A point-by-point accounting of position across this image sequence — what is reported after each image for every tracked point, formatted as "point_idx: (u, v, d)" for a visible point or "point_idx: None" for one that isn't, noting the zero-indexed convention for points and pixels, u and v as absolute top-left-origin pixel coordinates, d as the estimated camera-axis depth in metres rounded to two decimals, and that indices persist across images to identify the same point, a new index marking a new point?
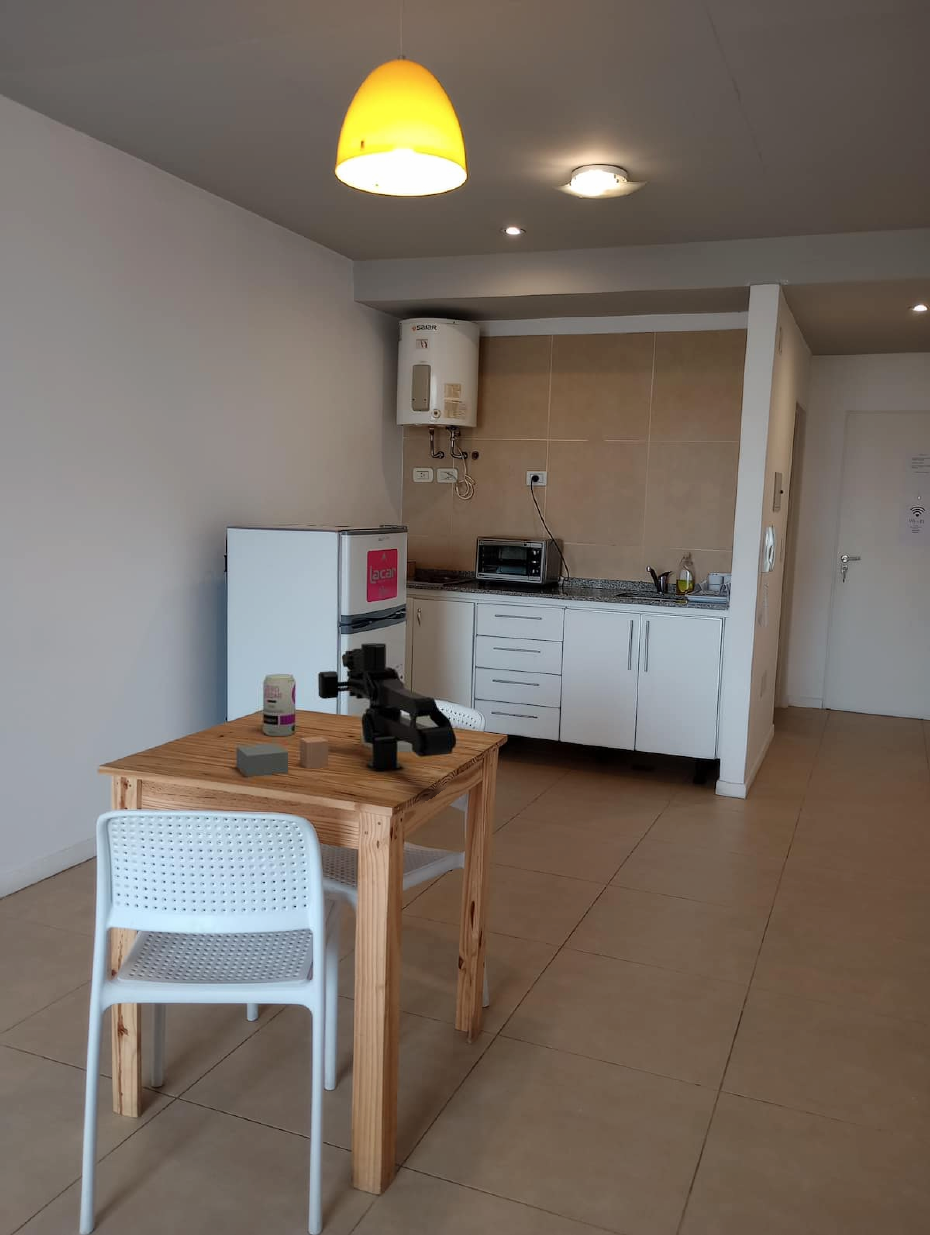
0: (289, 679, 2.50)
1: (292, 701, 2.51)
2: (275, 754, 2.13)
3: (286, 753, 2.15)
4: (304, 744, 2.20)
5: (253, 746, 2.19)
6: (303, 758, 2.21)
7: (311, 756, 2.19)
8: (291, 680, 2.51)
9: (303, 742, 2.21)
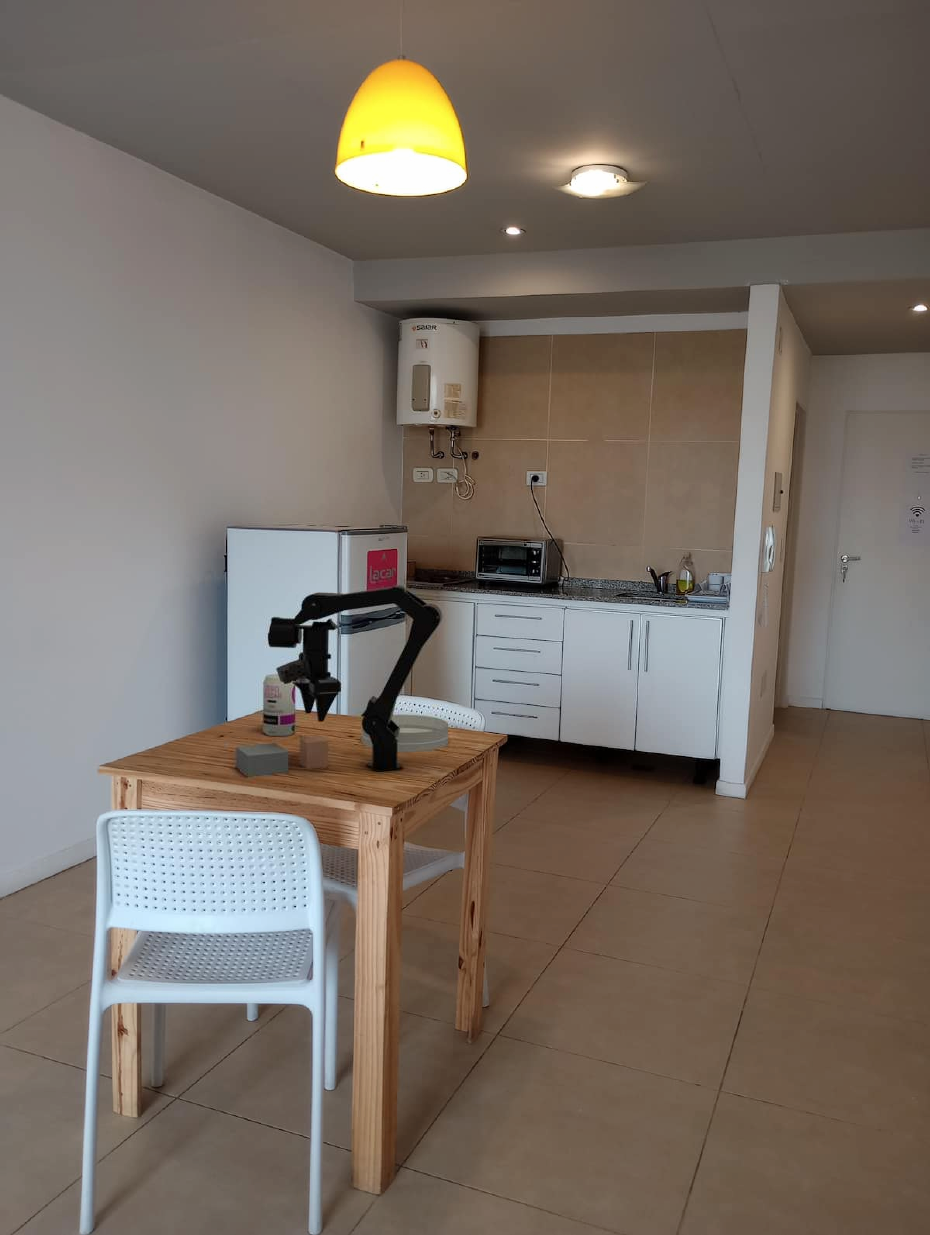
0: None
1: (292, 701, 2.51)
2: (275, 754, 2.14)
3: (286, 753, 2.15)
4: (304, 744, 2.20)
5: (253, 746, 2.19)
6: (303, 758, 2.21)
7: (311, 756, 2.19)
8: None
9: (303, 742, 2.21)
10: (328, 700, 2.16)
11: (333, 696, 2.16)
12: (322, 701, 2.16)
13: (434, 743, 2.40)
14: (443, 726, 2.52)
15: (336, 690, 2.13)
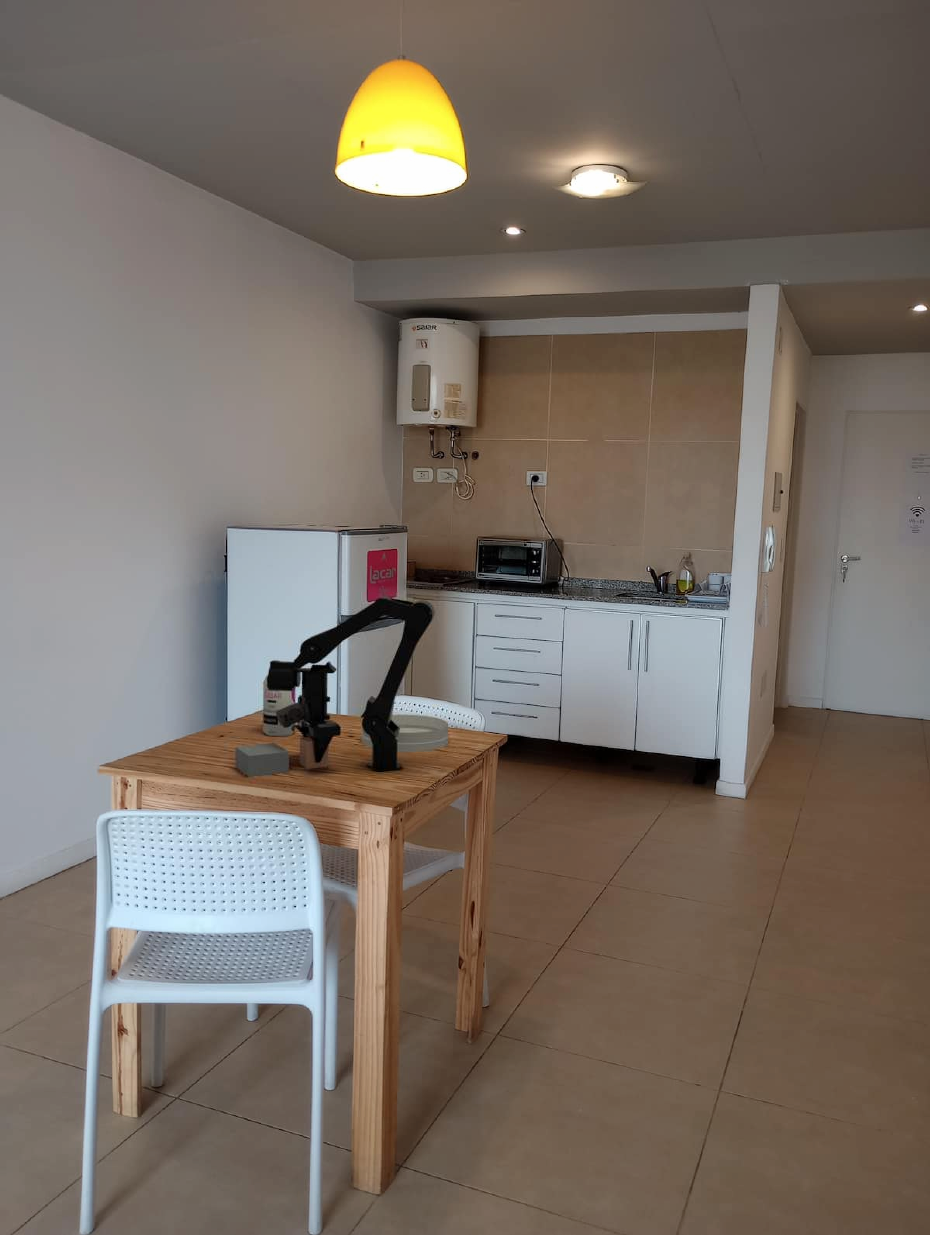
0: None
1: (292, 701, 2.51)
2: (276, 754, 2.14)
3: (287, 753, 2.15)
4: (304, 744, 2.20)
5: (252, 746, 2.19)
6: (303, 758, 2.21)
7: (311, 755, 2.19)
8: None
9: (303, 742, 2.21)
10: (325, 741, 2.19)
11: (330, 737, 2.19)
12: (319, 743, 2.19)
13: (434, 743, 2.40)
14: (443, 726, 2.52)
15: (336, 734, 2.14)
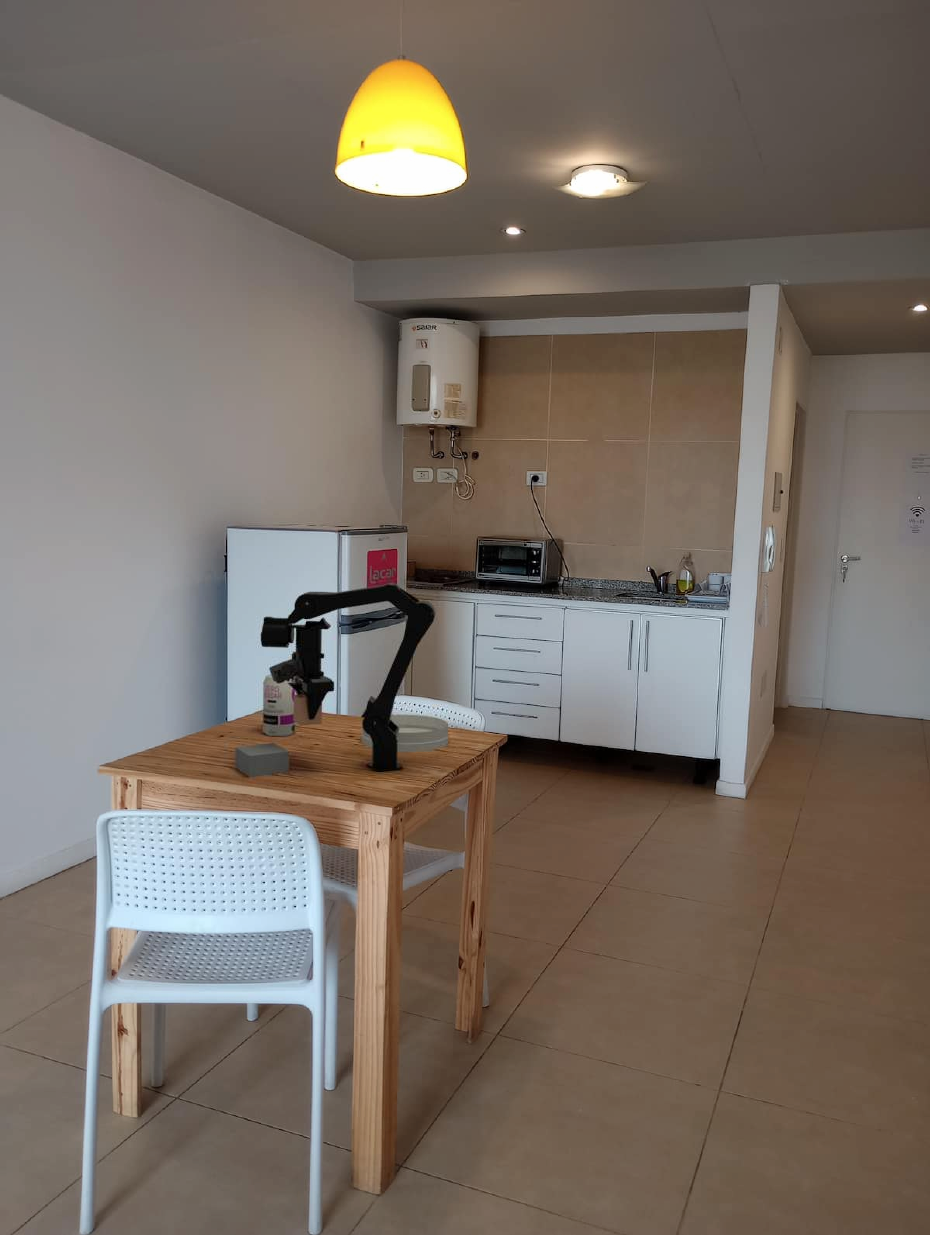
0: None
1: (292, 701, 2.51)
2: (277, 754, 2.14)
3: (287, 752, 2.15)
4: (298, 701, 2.19)
5: (252, 746, 2.19)
6: (296, 715, 2.20)
7: (305, 712, 2.18)
8: None
9: (297, 698, 2.19)
10: (318, 698, 2.17)
11: (323, 694, 2.17)
12: (312, 699, 2.17)
13: (434, 743, 2.40)
14: (443, 726, 2.52)
15: (329, 689, 2.13)
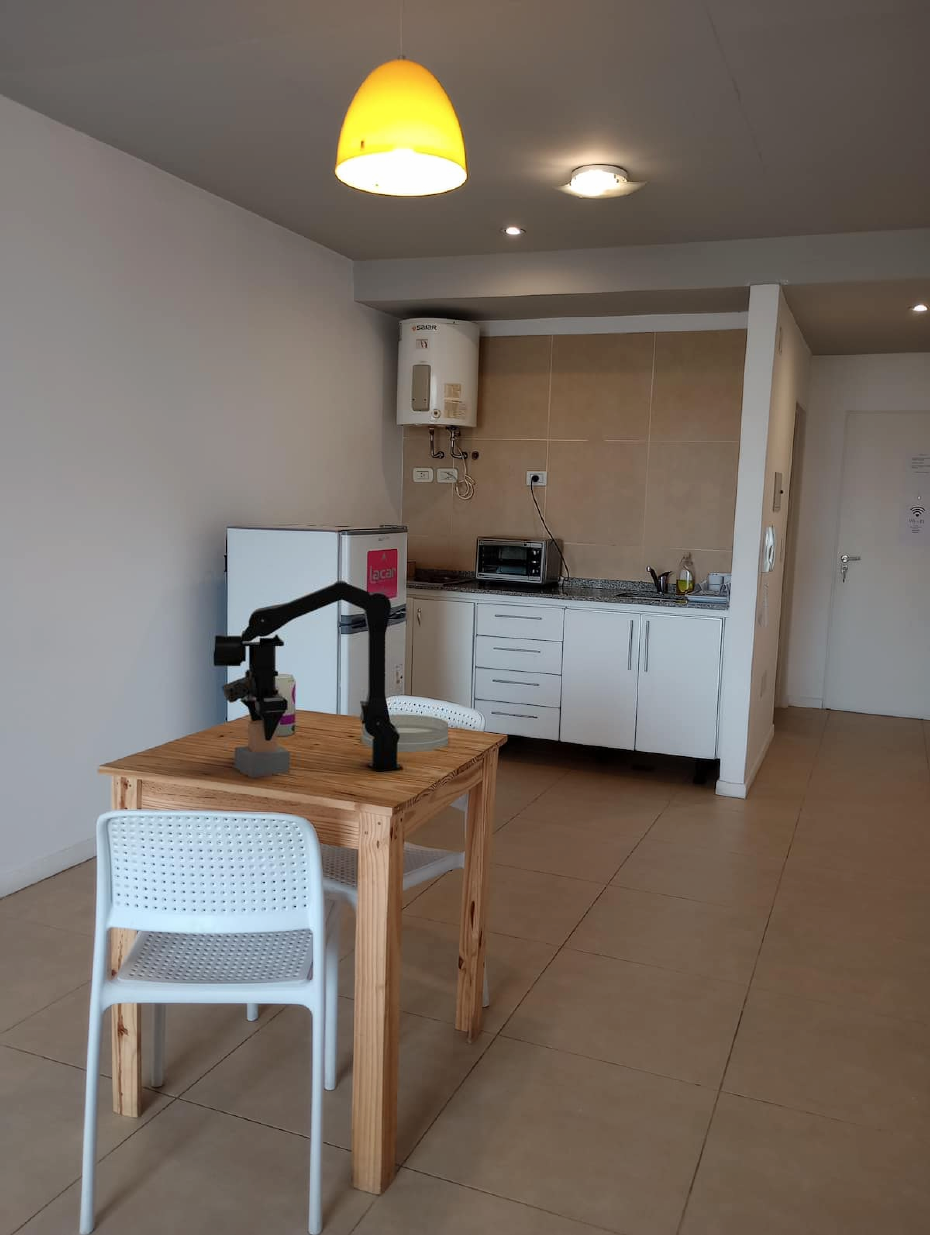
0: (289, 679, 2.50)
1: (292, 701, 2.51)
2: (277, 754, 2.14)
3: (288, 752, 2.15)
4: (252, 728, 2.14)
5: None
6: (251, 742, 2.15)
7: (259, 739, 2.13)
8: (291, 680, 2.51)
9: (251, 725, 2.15)
10: (275, 718, 2.11)
11: (280, 714, 2.11)
12: (268, 720, 2.11)
13: (434, 743, 2.40)
14: (443, 726, 2.52)
15: (282, 708, 2.08)
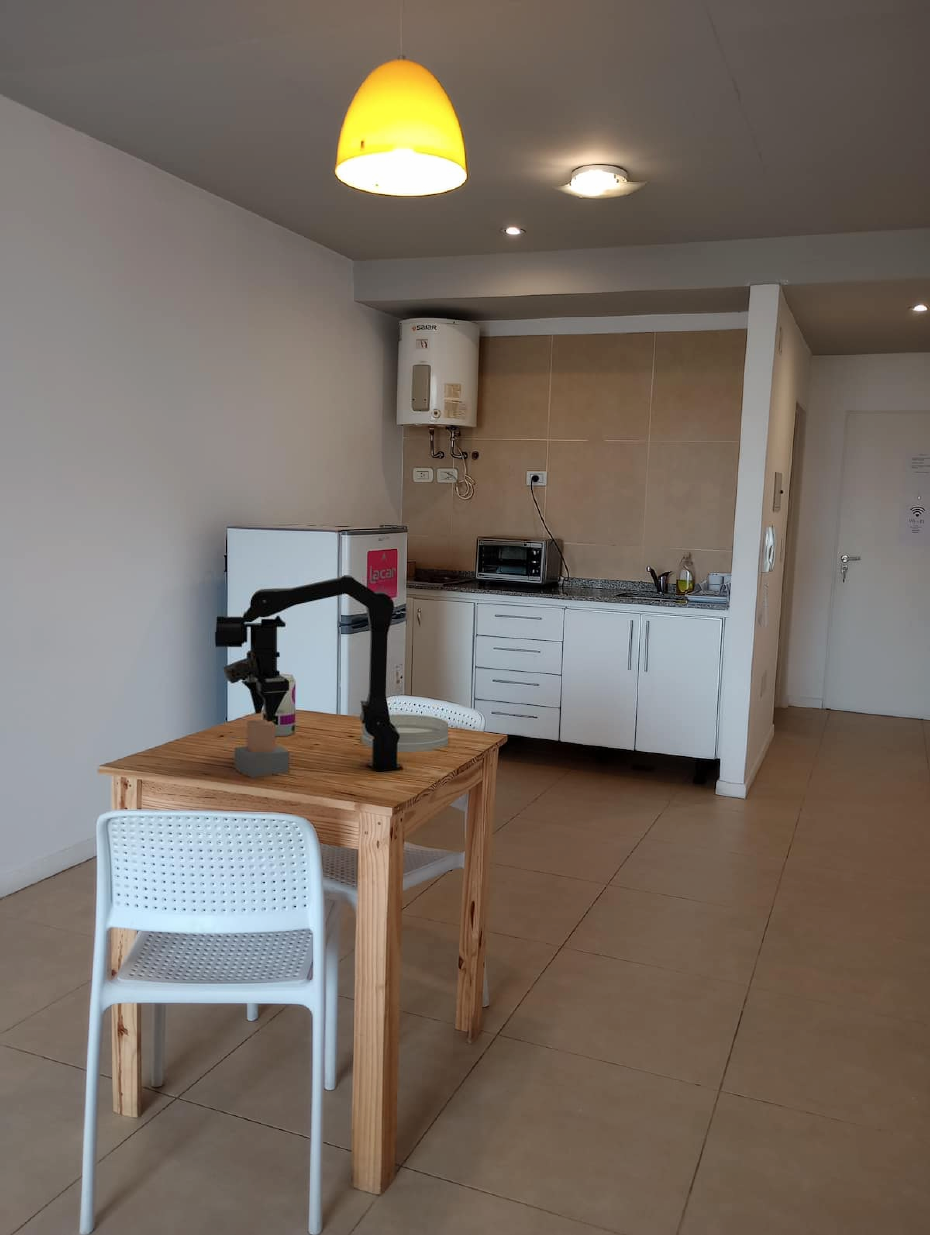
0: (289, 679, 2.50)
1: (292, 701, 2.51)
2: (277, 754, 2.14)
3: (287, 752, 2.15)
4: (250, 728, 2.14)
5: None
6: (249, 742, 2.15)
7: (257, 739, 2.13)
8: (291, 680, 2.51)
9: (249, 725, 2.15)
10: (276, 699, 2.11)
11: (282, 695, 2.10)
12: (270, 701, 2.10)
13: (434, 743, 2.40)
14: (443, 726, 2.52)
15: (284, 689, 2.08)
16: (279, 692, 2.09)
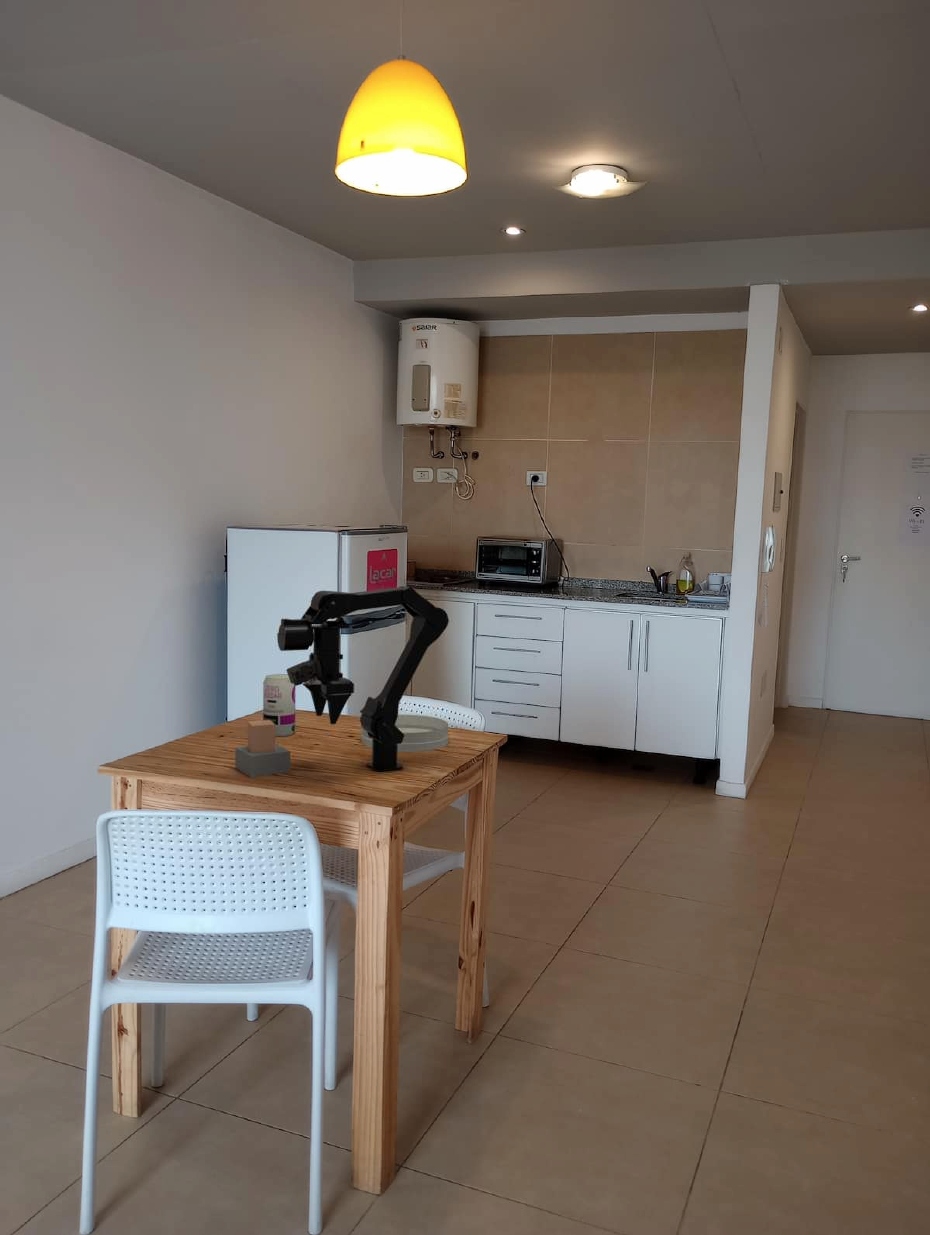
0: (289, 679, 2.50)
1: (292, 701, 2.51)
2: (278, 754, 2.14)
3: (288, 752, 2.16)
4: (250, 728, 2.14)
5: None
6: (249, 742, 2.15)
7: (257, 739, 2.13)
8: None
9: (249, 725, 2.15)
10: (340, 702, 2.09)
11: (346, 698, 2.09)
12: (334, 703, 2.09)
13: (434, 743, 2.40)
14: (443, 726, 2.52)
15: (349, 691, 2.06)
16: (344, 694, 2.07)
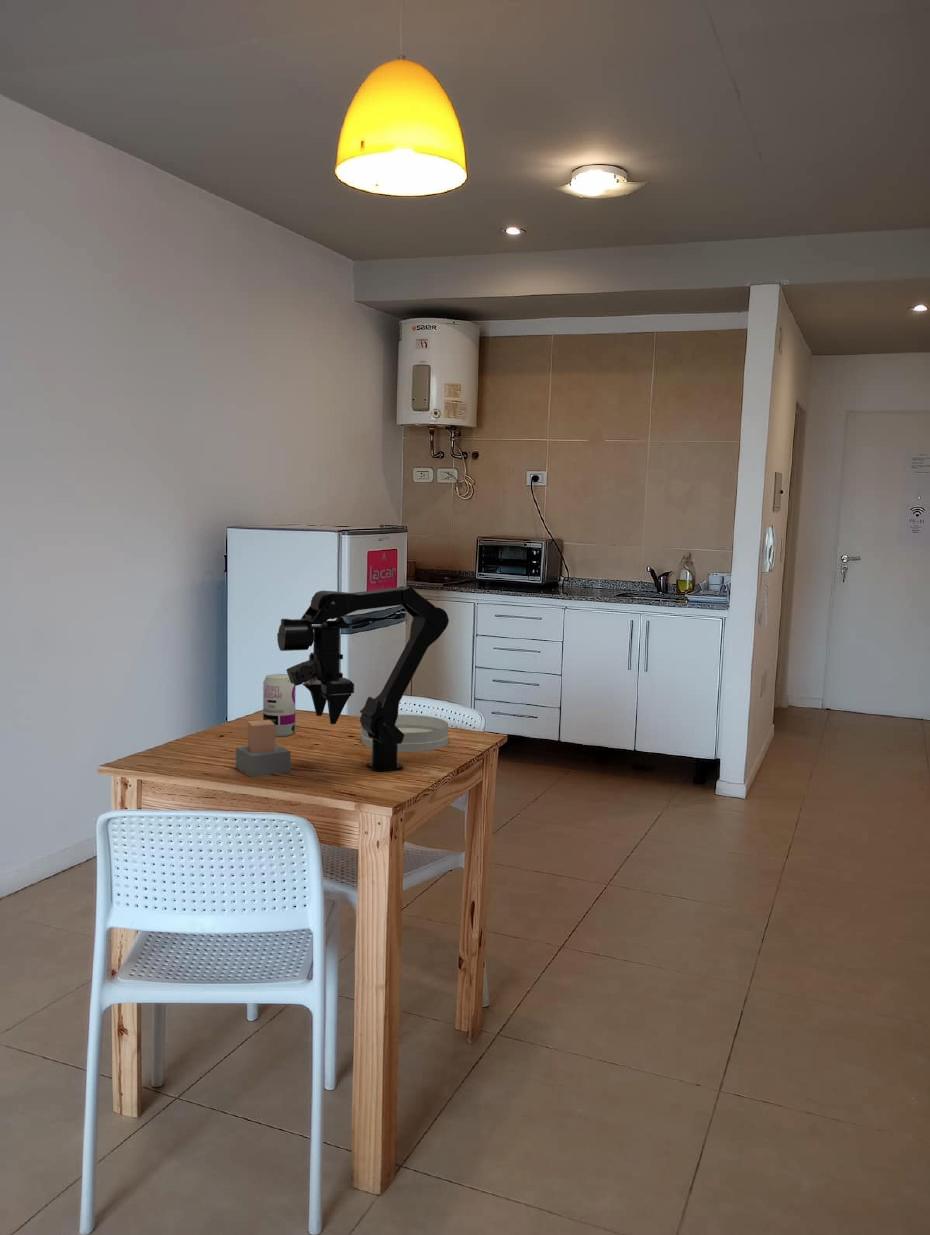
0: (289, 679, 2.50)
1: (292, 701, 2.51)
2: (278, 754, 2.14)
3: (289, 752, 2.16)
4: (250, 728, 2.14)
5: None
6: (249, 742, 2.16)
7: (257, 739, 2.14)
8: None
9: (249, 725, 2.15)
10: (341, 702, 2.09)
11: (346, 698, 2.09)
12: (334, 703, 2.09)
13: (434, 743, 2.40)
14: (443, 726, 2.52)
15: (349, 691, 2.06)
16: (344, 694, 2.07)
